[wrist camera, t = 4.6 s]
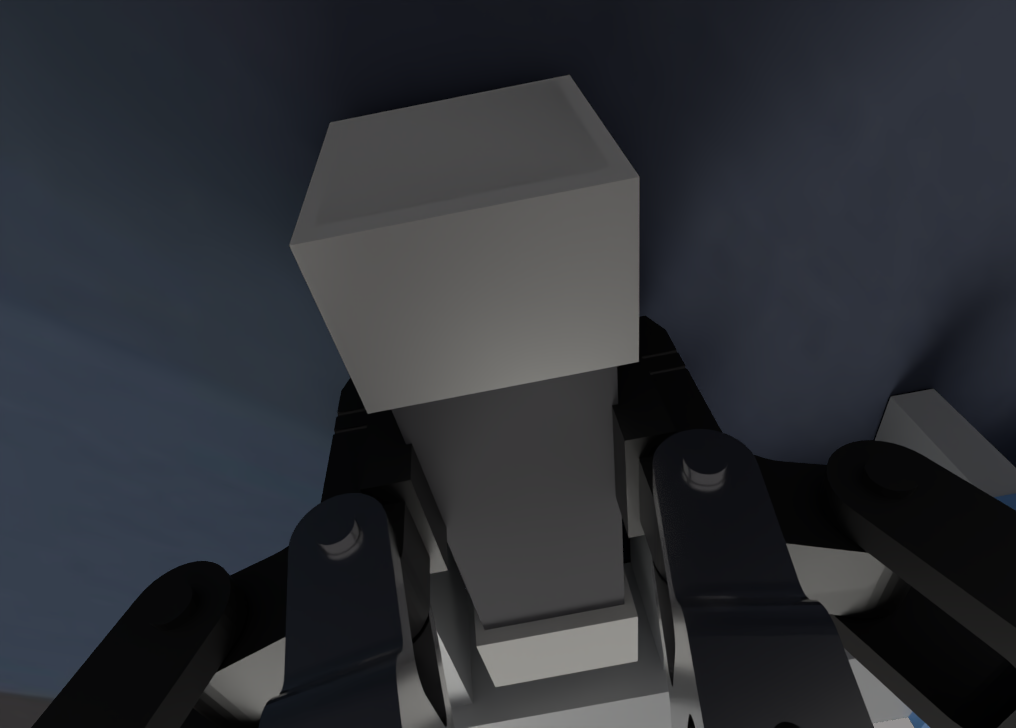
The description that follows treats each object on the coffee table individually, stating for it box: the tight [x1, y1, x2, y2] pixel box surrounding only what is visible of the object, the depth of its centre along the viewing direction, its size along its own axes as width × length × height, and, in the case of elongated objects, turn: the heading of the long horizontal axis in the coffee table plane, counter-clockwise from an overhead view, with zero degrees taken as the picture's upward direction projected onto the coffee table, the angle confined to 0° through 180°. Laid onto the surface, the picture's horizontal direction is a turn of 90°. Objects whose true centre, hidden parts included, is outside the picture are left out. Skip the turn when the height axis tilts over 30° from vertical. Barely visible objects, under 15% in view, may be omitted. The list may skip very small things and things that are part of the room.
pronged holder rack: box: [430, 389, 1016, 728], centre depth 15 cm, size 10×22×4 cm, turn 99°
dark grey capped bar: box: [289, 75, 640, 687], centre depth 11 cm, size 12×3×3 cm, turn 9°
